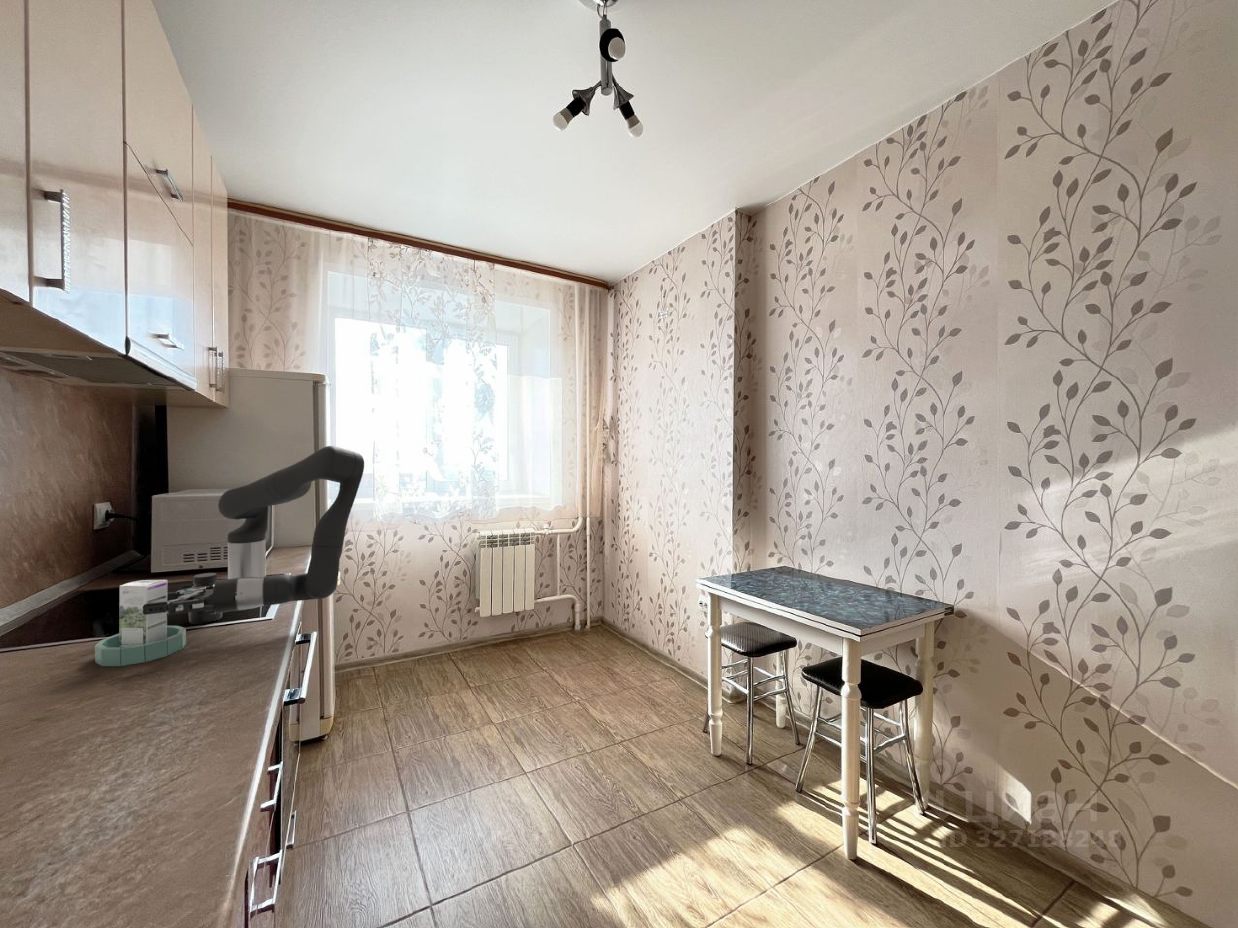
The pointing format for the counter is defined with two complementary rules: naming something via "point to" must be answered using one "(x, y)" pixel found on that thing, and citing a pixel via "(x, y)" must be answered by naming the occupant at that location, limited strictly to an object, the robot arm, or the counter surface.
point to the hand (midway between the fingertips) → (149, 604)
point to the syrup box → (141, 613)
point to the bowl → (139, 649)
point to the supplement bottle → (208, 611)
